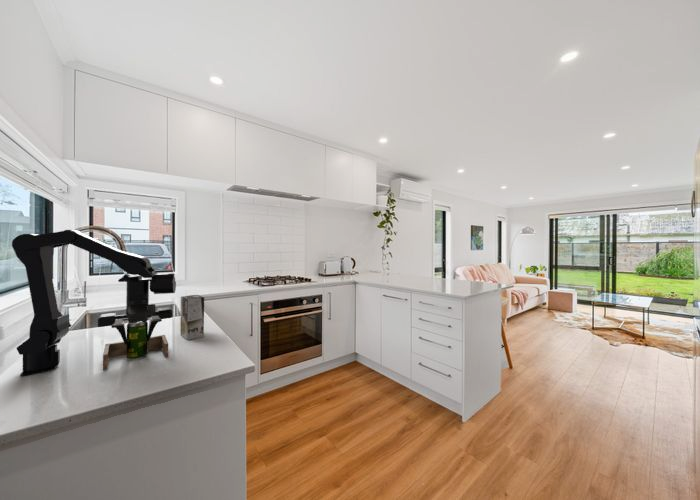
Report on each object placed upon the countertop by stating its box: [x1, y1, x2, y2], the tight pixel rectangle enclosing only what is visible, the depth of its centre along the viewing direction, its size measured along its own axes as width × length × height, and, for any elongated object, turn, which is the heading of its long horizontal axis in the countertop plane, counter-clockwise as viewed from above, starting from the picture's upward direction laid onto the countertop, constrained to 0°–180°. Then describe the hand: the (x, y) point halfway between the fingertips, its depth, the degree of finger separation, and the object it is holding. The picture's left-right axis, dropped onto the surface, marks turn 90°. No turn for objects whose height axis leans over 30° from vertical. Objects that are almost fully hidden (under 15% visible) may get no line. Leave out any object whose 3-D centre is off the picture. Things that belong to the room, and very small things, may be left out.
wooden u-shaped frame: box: [102, 334, 169, 371], centre depth 88 cm, size 16×11×4 cm
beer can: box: [125, 320, 149, 362], centre depth 88 cm, size 5×5×12 cm
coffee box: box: [179, 294, 205, 341], centre depth 110 cm, size 9×6×16 cm
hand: (137, 342), depth 88 cm, fingers closed on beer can, 5 cm apart
